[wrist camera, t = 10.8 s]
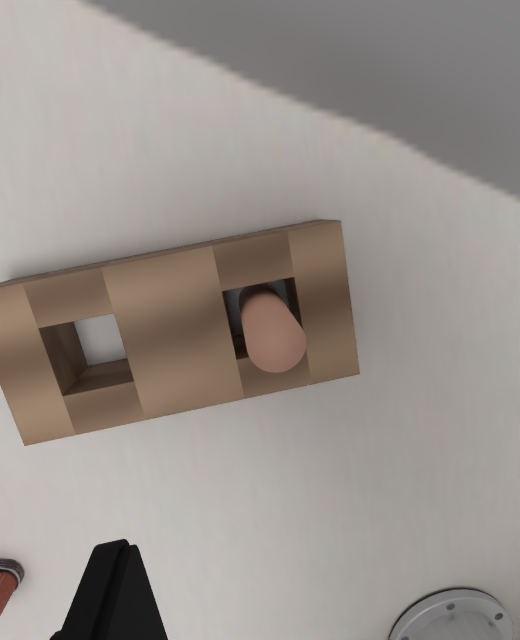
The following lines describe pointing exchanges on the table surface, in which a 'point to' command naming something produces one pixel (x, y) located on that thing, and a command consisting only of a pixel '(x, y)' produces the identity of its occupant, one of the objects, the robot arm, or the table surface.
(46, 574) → the table surface
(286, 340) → the peg
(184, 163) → the table surface
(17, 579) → the lighter
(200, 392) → the hole block
